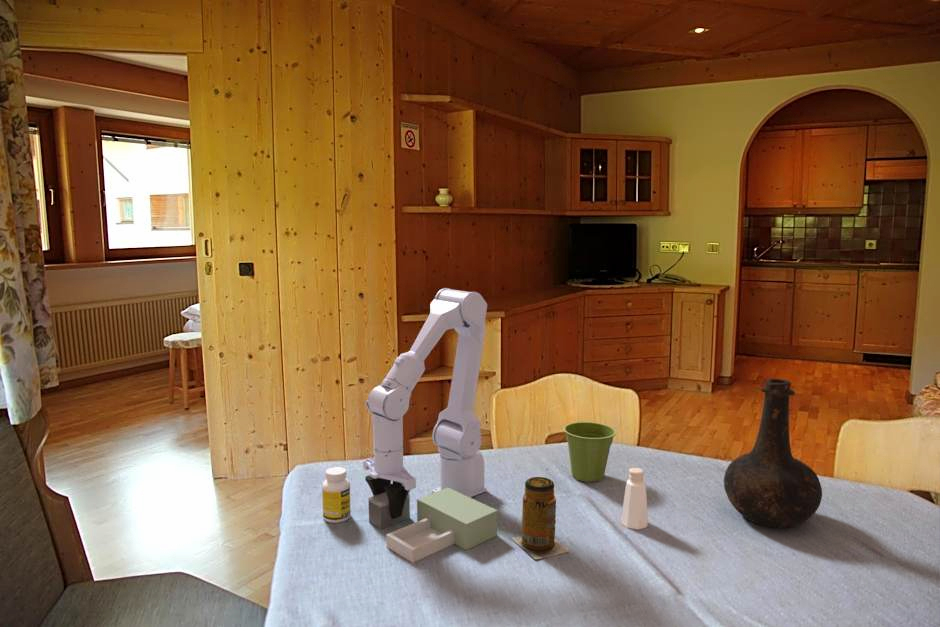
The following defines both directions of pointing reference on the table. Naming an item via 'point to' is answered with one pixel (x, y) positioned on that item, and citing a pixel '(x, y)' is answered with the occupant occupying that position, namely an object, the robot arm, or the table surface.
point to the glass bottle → (773, 470)
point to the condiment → (539, 520)
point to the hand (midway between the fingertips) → (389, 512)
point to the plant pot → (589, 449)
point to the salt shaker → (635, 501)
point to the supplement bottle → (336, 495)
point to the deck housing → (444, 525)
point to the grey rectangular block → (385, 511)
